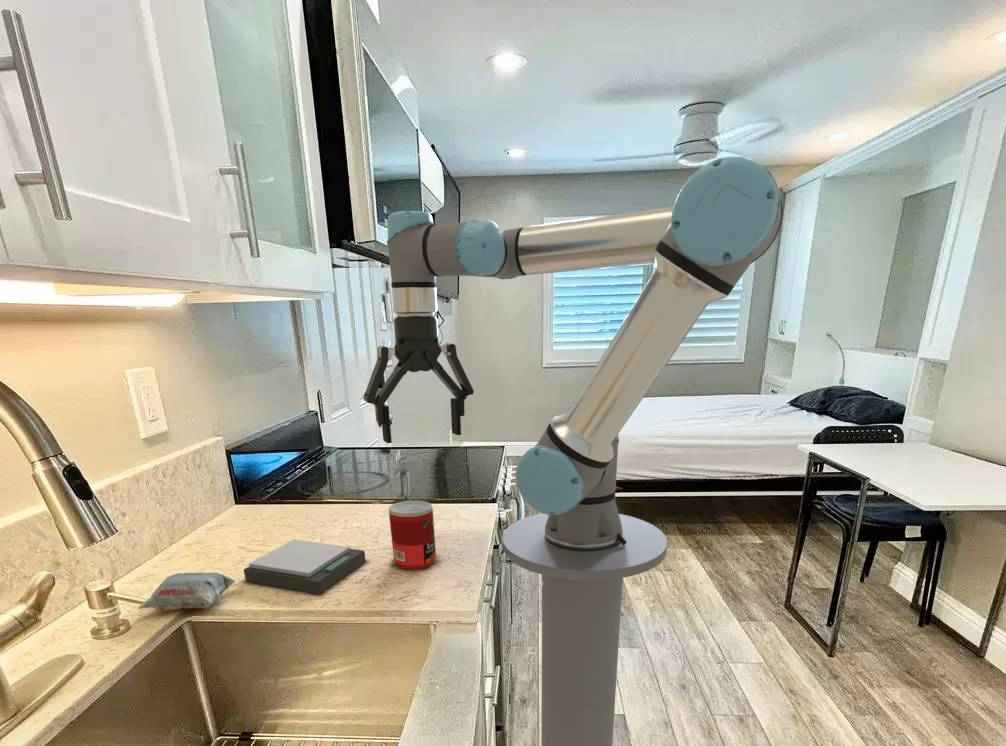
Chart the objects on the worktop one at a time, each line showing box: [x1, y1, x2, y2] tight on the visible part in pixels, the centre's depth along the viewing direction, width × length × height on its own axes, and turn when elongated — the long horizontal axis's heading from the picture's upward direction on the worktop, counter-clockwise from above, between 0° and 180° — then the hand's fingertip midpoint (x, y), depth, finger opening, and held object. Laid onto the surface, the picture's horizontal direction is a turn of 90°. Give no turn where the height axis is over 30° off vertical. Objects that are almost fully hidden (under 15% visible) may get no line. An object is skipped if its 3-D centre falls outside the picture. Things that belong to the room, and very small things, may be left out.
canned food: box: [388, 499, 437, 570], centre depth 106 cm, size 8×8×11 cm
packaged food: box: [137, 571, 235, 611], centre depth 93 cm, size 9×12×5 cm
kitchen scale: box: [243, 539, 367, 595], centre depth 104 cm, size 16×14×3 cm
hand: (422, 437), depth 106 cm, fingers open, 13 cm apart
